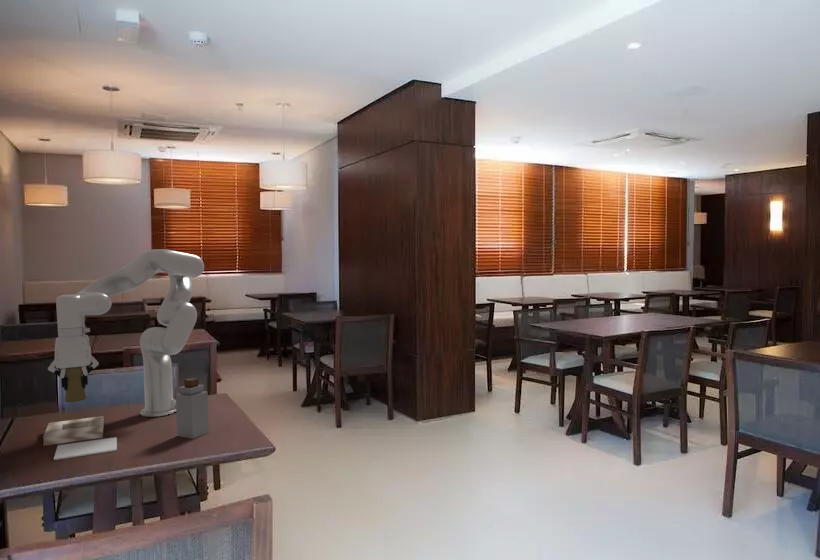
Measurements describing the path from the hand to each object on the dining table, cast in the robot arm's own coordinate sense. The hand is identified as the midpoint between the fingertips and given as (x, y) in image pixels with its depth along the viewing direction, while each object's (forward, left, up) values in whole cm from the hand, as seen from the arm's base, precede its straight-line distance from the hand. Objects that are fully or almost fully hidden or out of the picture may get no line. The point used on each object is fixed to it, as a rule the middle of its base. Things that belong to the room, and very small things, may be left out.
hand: (75, 387), depth 186 cm
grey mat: (-4, +18, -15) cm, 24 cm away
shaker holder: (0, 0, -15) cm, 15 cm away
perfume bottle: (-34, +19, -16) cm, 42 cm away
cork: (0, 0, -4) cm, 4 cm away
